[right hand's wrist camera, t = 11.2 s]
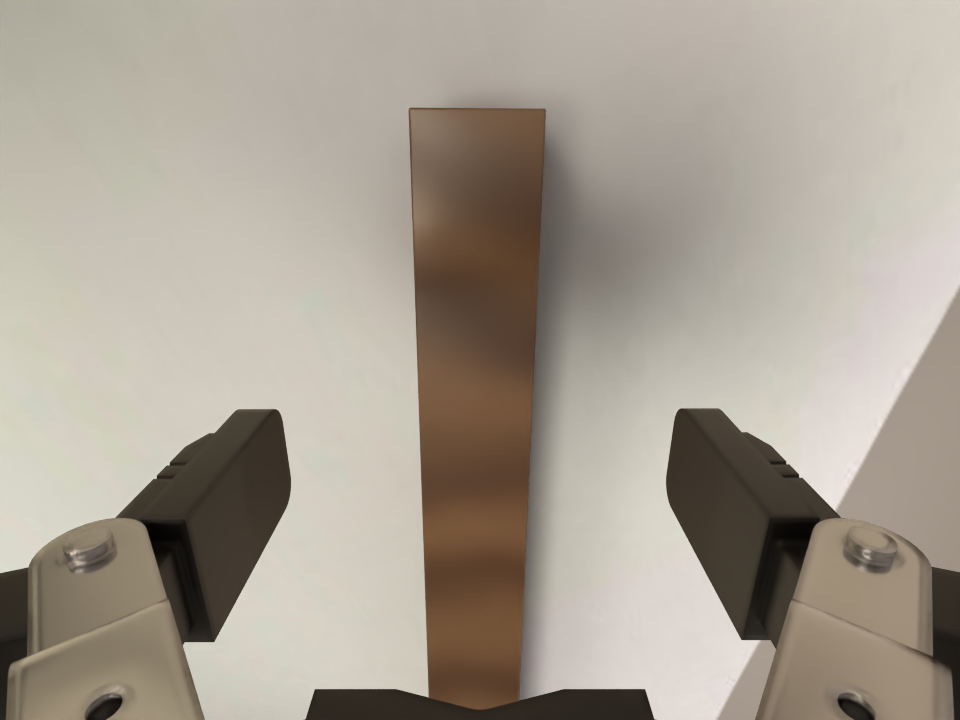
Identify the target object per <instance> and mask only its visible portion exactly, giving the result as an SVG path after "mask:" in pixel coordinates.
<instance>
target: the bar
mask: <svg viewBox="0 0 960 720" xmlns="http://www.w3.org/2000/svg"><path fill="white" fill-rule="evenodd" d="M545 118H546V110H545V109H510V108H409V132H410V161H411V190H412V220H413V249H414V278H415V307H416V337H417V366H418V395H419V424H420V453H421V483H422V512H423V541H424V570H425V599H426V629H427V658H428V687H429V698H432V699H436V700H440V701H443V702H447V703H451V704H455V705H459V706H463V707H467V708H471V709H477V710H483V709H489V708H493V707H497V706H501V705H505V704H509V703H513V702H517V701H519V688H520V666H521V644H522V622H523V600H524V578H525V556H526V534H527V512H528V490H529V468H530V446H531V425H532V403H533V381H534V359H535V337H536V315H537V293H538V271H539V249H540V227H541V205H542V183H543V161H544V139H545Z"/></svg>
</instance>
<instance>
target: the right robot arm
mask: <svg viewBox="0 0 960 720" xmlns="http://www.w3.org/2000/svg"><path fill="white" fill-rule="evenodd" d="M666 488H667V495H668V500H669V503H670V506H671V508H672V510H673V512H674V514H675V516H676V518H677V519H678V521H679V523H680V525H681V527H682V529H683V531H684V533H685V535H686V536H687V538H688V540H689V542H690V544H691V546H692V548H693V550H694V551H695V553H696V555H697V557H698V559H699V561H700V563H701V565H702V566H703V568H704V570H705V572H706V574H707V576H708V578H709V580H710V582H711V583H712V585H713V587H714V589H715V591H716V593H717V595H718V597H719V598H720V600H721V602H722V604H723V606H724V608H725V610H726V612H727V613H728V615H729V617H730V619H731V621H732V623H733V625H734V627H735V629H736V630H737V632H738V634H739V636H740V638H741V640H771V641H772V643H773V645H774V646H775V648H776V652H775V655H774V659H773V662H772V665H771V669H770V672H769V675H768V679H767V682H766V686H765V689H764V692H763V695H762V699H761V702H760V706H759V709H758V712H757V716H756V719H755V720H960V572H955V571H950V570H945V569H940V568H935V567H931V565H930V563H929V561H928V559H927V558H926V556H925V555H924V554H923V553H922V552H921V551H920V550H919V549H918V548H917V547H916V546H915V545H913V544H912V543H911V542H909V541H908V540H906V539H905V538H903V537H901V536H900V535H898V534H896V533H894V532H892V531H890V530H888V529H885V528H883V527H880V526H877V525H875V524H872V523H868V522H865V521H860V520H855V519H848V518H841V517H840V516H839V515H838V514H837V513H836V512H835V511H834V510H833V509H832V508H831V507H830V506H829V505H828V504H827V503H826V502H825V501H824V500H823V499H822V498H821V497H820V496H819V495H818V493H817V492H816V491H815V490H814V489H813V488H812V487H811V486H810V485H809V484H808V483H807V482H806V481H805V480H804V479H803V478H799V474H798V473H797V472H796V471H795V470H794V469H793V468H792V467H791V466H790V465H786V461H785V460H784V459H783V458H782V457H781V456H780V455H779V454H778V453H777V452H776V451H775V449H774V448H773V447H772V446H770V445H769V444H767V443H765V442H763V441H762V440H760V439H758V438H756V437H754V436H753V435H751V434H749V433H747V432H741V431H740V430H739V429H738V428H737V427H736V426H735V425H734V423H733V422H732V421H731V420H730V419H729V418H728V417H727V416H726V415H725V414H724V413H723V411H721V410H720V409H679V410H678V412H677V414H676V416H675V420H674V427H673V434H672V441H671V448H670V455H669V462H668V469H667V476H666ZM290 491H291V476H290V469H289V462H288V455H287V448H286V441H285V434H284V427H283V421H282V417H281V415H280V413H279V411H278V410H276V409H238V410H236V411H235V412H234V413H233V414H232V415H231V416H230V417H229V418H228V420H227V421H226V422H225V423H224V424H223V425H222V426H221V427H220V428H219V429H218V430H217V431H216V432H215V433H209V434H207V435H206V436H204V437H202V438H200V439H198V440H197V441H195V442H193V443H191V444H190V445H188V446H186V447H185V448H184V449H183V450H182V451H181V452H180V453H179V454H178V455H177V456H176V457H175V458H174V459H173V460H172V461H171V462H170V466H166V467H165V468H164V469H163V470H162V471H161V472H160V473H159V474H158V475H157V479H153V480H152V481H151V482H150V483H149V484H148V485H147V486H146V487H145V488H144V489H143V490H142V491H141V492H140V493H139V494H138V495H137V496H136V497H135V498H134V500H133V501H132V502H131V503H130V504H129V505H128V506H127V507H126V508H125V509H124V510H123V511H122V512H121V513H120V514H119V515H118V516H117V517H116V518H112V519H105V520H100V521H95V522H92V523H88V524H85V525H82V526H80V527H77V528H75V529H72V530H70V531H68V532H66V533H64V534H62V535H60V536H59V537H57V538H55V539H54V540H52V541H51V542H49V543H48V544H47V545H45V546H44V547H43V548H42V549H41V550H40V551H39V552H38V553H37V554H36V555H35V556H34V558H33V559H32V561H31V563H30V565H29V567H28V568H24V569H19V570H14V571H9V572H4V573H0V720H205V719H204V716H203V712H202V709H201V706H200V702H199V699H198V695H197V692H196V689H195V685H194V682H193V679H192V675H191V672H190V669H189V665H188V662H187V659H186V655H185V652H184V649H183V644H184V642H214V641H215V639H216V638H217V636H218V634H219V632H220V630H221V628H222V626H223V625H224V623H225V621H226V619H227V617H228V615H229V613H230V612H231V610H232V608H233V606H234V604H235V602H236V600H237V599H238V597H239V595H240V593H241V591H242V589H243V587H244V586H245V584H246V582H247V580H248V578H249V576H250V574H251V573H252V571H253V569H254V567H255V565H256V563H257V561H258V560H259V558H260V556H261V554H262V552H263V550H264V548H265V547H266V545H267V543H268V541H269V539H270V537H271V535H272V534H273V532H274V530H275V528H276V526H277V524H278V522H279V521H280V519H281V517H282V515H283V513H284V511H285V509H286V507H287V505H288V501H289V497H290ZM305 720H655V719H654V717H653V714H652V710H651V707H650V704H649V701H648V697H647V694H646V691H645V689H563V690H559V691H555V692H552V693H548V694H544V695H540V696H536V697H532V698H528V699H524V700H520V701H517V702H513V703H509V704H505V705H501V706H497V707H493V708H489V709H483V710H477V709H471V708H467V707H463V706H459V705H455V704H451V703H447V702H443V701H440V700H436V699H432V698H428V697H424V696H420V695H416V694H412V693H408V692H405V691H401V690H397V689H315V691H314V694H313V697H312V701H311V704H310V707H309V710H308V714H307V717H306V719H305Z"/></svg>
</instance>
